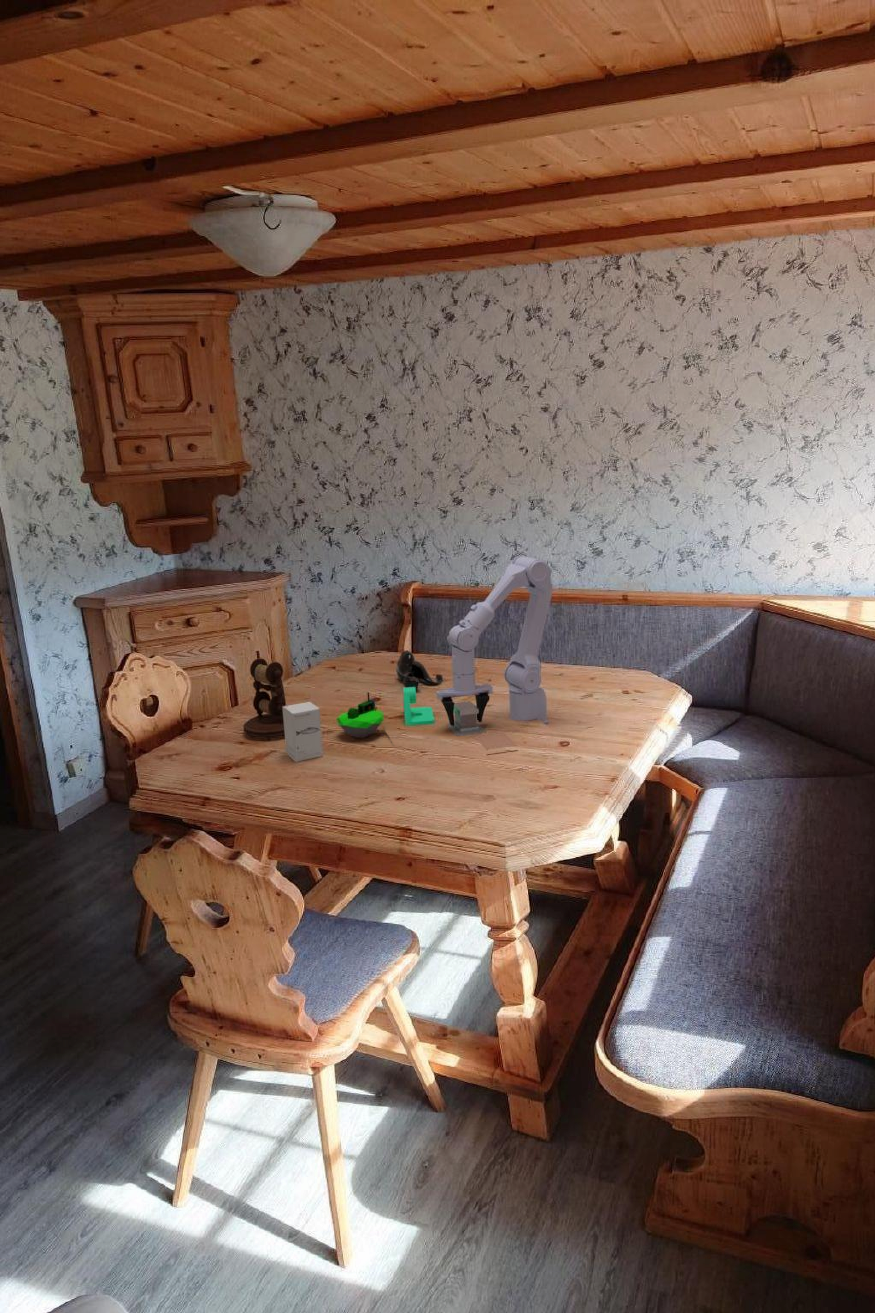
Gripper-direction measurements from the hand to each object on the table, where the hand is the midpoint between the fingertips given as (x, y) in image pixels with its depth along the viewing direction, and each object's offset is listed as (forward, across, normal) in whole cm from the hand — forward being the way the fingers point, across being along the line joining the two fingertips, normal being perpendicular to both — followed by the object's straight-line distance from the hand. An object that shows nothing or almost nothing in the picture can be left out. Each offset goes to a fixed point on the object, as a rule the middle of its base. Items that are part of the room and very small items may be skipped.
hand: (465, 722), depth 239 cm
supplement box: (+3, +42, 0) cm, 42 cm away
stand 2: (+3, -4, +12) cm, 13 cm away
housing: (+1, 0, 0) cm, 1 cm away
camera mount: (+3, +9, -13) cm, 16 cm away
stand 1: (+3, 0, 0) cm, 3 cm away
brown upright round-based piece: (+3, +48, -21) cm, 52 cm away
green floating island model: (+3, +26, -9) cm, 28 cm away
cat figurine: (+3, -1, -49) cm, 49 cm away
